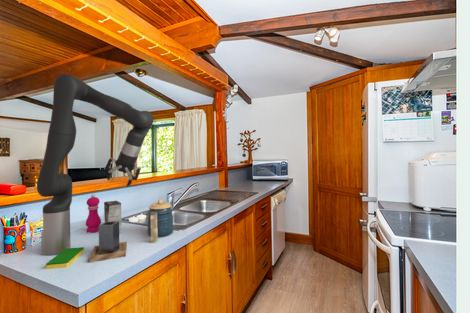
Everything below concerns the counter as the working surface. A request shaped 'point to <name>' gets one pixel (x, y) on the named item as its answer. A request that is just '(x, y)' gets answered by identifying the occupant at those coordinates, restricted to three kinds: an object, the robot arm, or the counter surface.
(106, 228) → the grey square container
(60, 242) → the robot arm
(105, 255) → the tray
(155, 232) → the post
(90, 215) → the pepper mill
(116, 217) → the coffee box
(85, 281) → the counter surface
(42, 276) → the counter surface
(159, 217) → the canister
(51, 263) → the dish sponge
